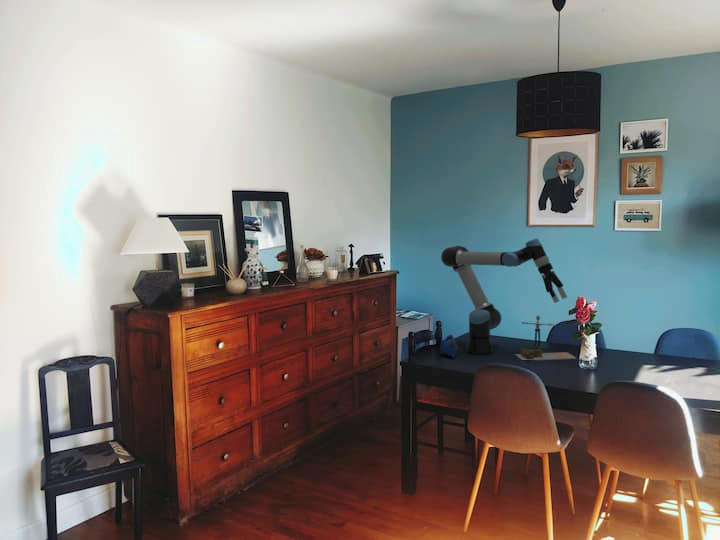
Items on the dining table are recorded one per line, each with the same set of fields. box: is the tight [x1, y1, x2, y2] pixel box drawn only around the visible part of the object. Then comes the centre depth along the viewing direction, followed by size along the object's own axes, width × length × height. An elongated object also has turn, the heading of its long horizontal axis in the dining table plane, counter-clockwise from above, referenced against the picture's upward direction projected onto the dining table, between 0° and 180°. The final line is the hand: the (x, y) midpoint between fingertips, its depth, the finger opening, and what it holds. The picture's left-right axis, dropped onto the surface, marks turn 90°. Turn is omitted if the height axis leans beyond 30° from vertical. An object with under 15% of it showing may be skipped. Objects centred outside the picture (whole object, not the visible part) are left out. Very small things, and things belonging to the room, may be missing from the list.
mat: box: [514, 351, 577, 361], centre depth 311 cm, size 30×12×1 cm, turn 93°
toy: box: [439, 334, 459, 359], centre depth 318 cm, size 11×10×15 cm
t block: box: [520, 347, 543, 359], centre depth 310 cm, size 10×10×4 cm
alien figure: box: [521, 315, 555, 349], centre depth 331 cm, size 20×5×19 cm, turn 62°
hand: (561, 300), depth 309 cm, fingers open, 13 cm apart
